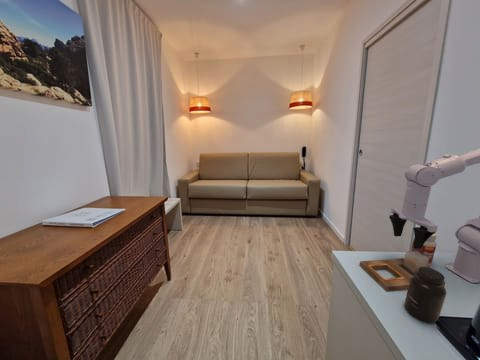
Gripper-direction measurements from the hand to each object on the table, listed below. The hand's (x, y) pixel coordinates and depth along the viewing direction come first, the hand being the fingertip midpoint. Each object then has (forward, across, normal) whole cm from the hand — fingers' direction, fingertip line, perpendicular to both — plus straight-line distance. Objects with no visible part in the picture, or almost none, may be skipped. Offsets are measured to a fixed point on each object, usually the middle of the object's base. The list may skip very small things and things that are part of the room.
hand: (406, 241), depth 70 cm
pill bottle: (+10, -3, +10) cm, 14 cm away
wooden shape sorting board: (+10, +4, -4) cm, 11 cm away
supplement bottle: (+10, +17, -10) cm, 23 cm away
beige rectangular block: (+10, +4, +1) cm, 10 cm away
